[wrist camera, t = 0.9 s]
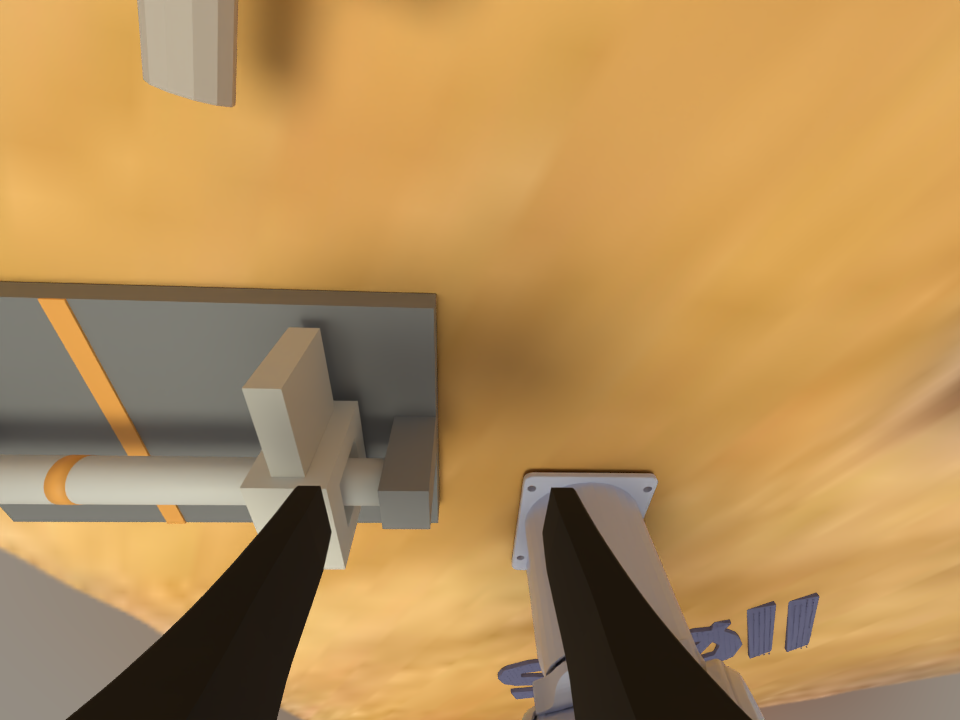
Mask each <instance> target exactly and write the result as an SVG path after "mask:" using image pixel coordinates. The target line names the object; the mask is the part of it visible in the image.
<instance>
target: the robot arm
mask: <svg viewBox="0 0 960 720" xmlns="http://www.w3.org/2000/svg"><path fill="white" fill-rule="evenodd" d="M657 484H658V480H657V478H656V476H655V475H654V474H650V473H551V472H531V473H528V474H526V475H525V476H524V478H523V485H522V492H521V499H520V506H519V513H518V520H517V527H516V534H515V541H514V548H513V555H512V567H513V568H514V569H516V570H527V577H528V585H529V593H530V601H531V609H532V617H533V625H534V633H535V641H536V649H537V656H538V660H539V665H540V668H541V670H542V673H543V675H544V677H543V678H541V679H538V680H535V681H533V683H532V684H533V693H534V702H535V706H533V707H532V708H530V709H529V710H527V711H526V713H525V714H524V716H523V718H522V720H765V719H764V717H763V715H762V713H761V711H760V709H759V707H758V705H757V703H756V701H755V699H754V697H753V696H752V694H751V692H750V690H749V688H748V686H747V685H746V683H745V681H744V679H743V678H742V676H741V675H740V673H738V672H737V671H735V670H734V669H732V668H730V667H729V666H725V664H724V663H723V662H722V661H721V660H719V659H713V660H709V661H706V662H705V660H704V659H703V657H702V656H701V655H700V653H699V652H698V650H697V647H696V645H695V642H694V640H693V638H692V635H691V633H690V630H689V628H688V626H687V623H686V621H685V618H684V616H683V614H682V611H681V609H680V606H679V604H678V602H677V599H676V597H675V594H674V592H673V590H672V587H671V585H670V582H669V580H668V578H667V575H666V573H665V570H664V568H663V566H662V563H661V561H660V558H659V556H658V554H657V551H656V549H655V546H654V544H653V541H652V539H651V537H650V534H649V532H648V529H647V527H646V525H645V522H644V520H643V519H644V516H645V514H646V511H647V509H648V506H649V504H650V501H651V499H652V496H653V494H654V491H655V489H656V486H657ZM331 534H332V531H331V527H330V523H329V519H328V514H327V510H326V506H325V502H324V498H323V494H322V490H321V486H297V487H296V488H295V489H294V490H293V491H292V492H291V494H290V495H289V496H288V497H287V499H286V500H285V501H284V503H283V504H282V505H281V506H280V508H279V509H278V510H277V511H276V513H275V514H274V515H273V516H272V518H271V519H270V520H269V521H268V523H267V524H266V525H265V526H264V527H263V529H262V530H261V531H260V532H259V534H258V535H257V536H256V537H255V538H254V539H253V541H252V542H251V543H250V544H249V545H248V546H247V548H246V549H245V550H244V551H243V552H242V553H241V555H240V556H239V557H238V558H237V559H236V560H235V561H234V563H233V564H232V565H231V566H230V567H229V568H228V569H227V570H226V571H225V572H224V574H223V575H222V576H221V577H220V578H219V579H218V580H217V581H216V582H215V583H214V584H213V585H212V586H211V588H210V589H209V590H208V591H207V592H206V593H205V594H204V595H203V596H202V597H201V598H200V599H199V600H198V601H197V602H196V603H195V604H194V605H193V606H192V607H191V608H190V609H189V610H188V611H187V612H186V613H185V614H184V615H183V616H182V617H181V618H180V619H179V620H178V621H177V622H176V623H175V624H174V625H173V626H172V627H171V628H170V629H169V630H168V631H167V632H166V633H165V634H164V635H163V636H162V637H161V638H160V639H159V640H158V641H157V642H155V643H154V644H153V645H152V646H151V647H150V648H149V649H148V650H147V651H145V652H144V653H143V654H142V655H141V656H140V657H139V658H138V659H137V660H136V661H134V662H133V663H132V664H131V665H130V666H129V667H128V668H127V669H126V670H124V671H123V672H122V673H121V674H120V675H119V676H118V677H116V679H114V680H113V681H112V682H111V683H109V684H108V685H107V686H106V687H105V688H104V689H103V690H101V691H100V692H99V693H98V694H96V695H95V696H94V697H93V698H92V699H90V700H89V701H88V702H87V703H86V704H84V705H83V706H82V707H81V708H79V709H78V710H77V711H76V712H74V713H73V714H72V715H71V716H70V717H68V718H67V719H66V720H277V716H278V712H279V708H280V704H281V701H282V697H283V693H284V689H285V685H286V681H287V678H288V674H289V671H290V668H291V664H292V661H293V658H294V655H295V652H296V649H297V646H298V644H299V641H300V638H301V635H302V632H303V629H304V626H305V623H306V620H307V617H308V614H309V611H310V609H311V606H312V603H313V600H314V597H315V594H316V591H317V588H318V585H319V582H320V579H321V576H322V573H323V570H324V565H325V561H326V557H327V552H328V548H329V543H330V538H331Z"/></svg>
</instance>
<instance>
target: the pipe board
mask: <svg viewBox="0 0 960 720" xmlns="http://www.w3.org/2000/svg"><path fill="white" fill-rule="evenodd" d="M289 327H294V328H320V332H321V337H322V343H323V348H324V353H325V358H326V364H327V369H328V374H329V380H330V385H331V390H332V396H333V401H358V406H359V413H360V419H361V426H362V433H363V440H364V446H365V453H366V458H348V460H347V463H346V466H345V469H344V472H343V475H342V478H341V481H340V485H339V486H340V491H341V496H342V500H343V505H344V506H361V510H360V513H359V517H358V521H357V523H382V527H383V529H430V524H431V523H438V516H439V444H438V383H437V323H436V294H426V293H390V292H355V291H319V290H284V289H248V288H213V287H177V286H142V285H107V284H71V283H36V282H0V507H1V508H2V509H3V510H4V511H5V512H6V513H7V515H8V516H9V517H10V518H11V519H12V520H13V521H14V522H167V524H185V523H186V522H253V521H252V518H251V516H250V513H249V511H248V508H247V506H246V503H245V501H244V498H243V496H242V493H241V491H240V486H241V485H242V483H243V481H244V479H245V478H246V476H247V474H248V473H249V471H250V469H251V467H252V466H253V464H254V462H255V460H256V459H257V457H258V455H259V454H260V452H261V450H262V448H261V445H260V442H259V439H258V436H257V433H256V430H255V427H254V424H253V421H252V418H251V415H250V412H249V409H248V406H247V403H246V400H245V397H244V394H243V391H242V387H243V386H244V385H245V383H246V382H247V381H248V379H249V378H250V377H251V376H252V374H253V373H254V372H255V370H256V369H257V368H258V366H259V365H260V364H261V363H262V361H263V360H264V359H265V357H266V356H267V355H268V353H269V352H270V351H271V350H272V348H273V347H274V346H275V344H276V343H277V342H278V341H279V339H280V338H281V337H282V335H283V334H284V333H285V331H286V330H287V329H288V328H289Z"/></svg>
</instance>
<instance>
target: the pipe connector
mask: <svg viewBox="0 0 960 720" xmlns="http://www.w3.org/2000/svg"><path fill="white" fill-rule="evenodd" d="M137 2H138V15H139V29H140V42H141V56H142V70H143V79H144V80H145V81H146V82H147V83H148V84H150V85H152V86H154V87H157V88H159V89H162V90H164V91H166V92H169V93H172V94H175V95H178V96H182V97H185V98H188V99H191V100H195V101H199V102H203V103H208V104H212V105H216V106H225V107H233V106H235V103H236V64H237V25H238V0H137Z"/></svg>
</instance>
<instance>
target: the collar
mask: <svg viewBox="0 0 960 720" xmlns="http://www.w3.org/2000/svg"><path fill="white" fill-rule="evenodd" d="M242 391H243V394H244V397H245V400H246V403H247V406H248V409H249V412H250V415H251V418H252V421H253V424H254V427H255V430H256V433H257V436H258V439H259V442H260V445H261V448H262V450H261V452H260V454H259V455H258V457H257V459H256V460H255V462H254V464H253V466H252V467H251V469H250V471H249V473H248V474H247V476H246V478H245V479H244V481H243V483H242V485H241V486H240V491H241V493H242V496H243V498H244V501H245V503H246V506H247V508H248V511H249V513H250V516H251V518H252V521H253V523H254V526H255V528H256V531H257V533H258V534H259V532H260V531H261V530H262V529H263V527H264V526H265V525H266V524H267V523H268V521H269V520H270V519H271V518H272V516H273V515H274V514H275V513H276V511H277V510H278V509H279V508H280V506H281V505H282V504H283V503H284V501H285V500H286V499H287V497H288V496H289V495H290V494H291V492H292V491H293V490H294V489H295V488H296V487H297V486H321V490H322V494H323V498H324V502H325V506H326V510H327V514H328V519H329V523H330V527H331V531H332V534H331V538H330V543H329V548H328V552H327V557H326V561H325V565H324V569H345V568H346V564H347V560H348V556H349V552H350V548H351V545H352V541H353V537H354V533H355V529H356V525H357V521H358V517H359V513H360V510H361V506H344V505H343V500H342V496H341V491H340V486H339V485H340V481H341V478H342V475H343V472H344V469H345V466H346V463H347V460H348V458H366V453H365V446H364V440H363V433H362V426H361V419H360V413H359V406H358V401H333V396H332V390H331V385H330V380H329V374H328V369H327V364H326V358H325V353H324V348H323V343H322V337H321V332H320V328H294V327H289V328H288V329H287V330H286V331H285V333H284V334H283V335H282V337H281V338H280V339H279V341H278V342H277V343H276V344H275V346H274V347H273V348H272V350H271V351H270V352H269V353H268V355H267V356H266V357H265V359H264V360H263V361H262V363H261V364H260V365H259V366H258V368H257V369H256V370H255V372H254V373H253V374H252V376H251V377H250V378H249V379H248V381H247V382H246V383H245V385H244V386H243V387H242Z"/></svg>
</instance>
